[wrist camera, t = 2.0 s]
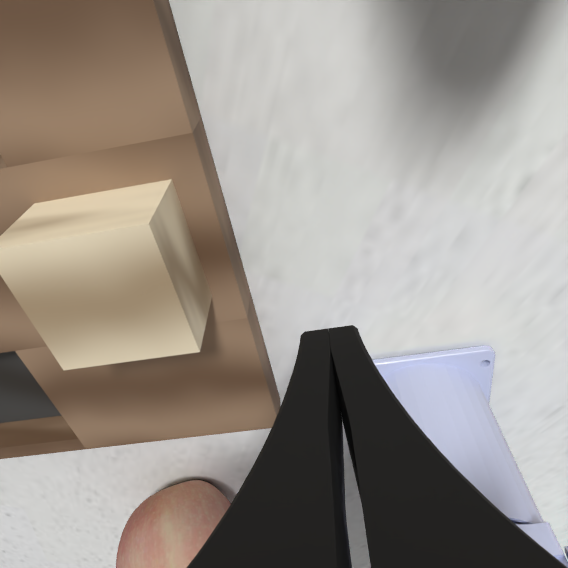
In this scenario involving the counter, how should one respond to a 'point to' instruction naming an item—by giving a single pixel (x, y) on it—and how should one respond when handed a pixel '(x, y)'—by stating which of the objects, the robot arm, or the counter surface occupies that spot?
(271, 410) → the board
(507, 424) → the counter surface
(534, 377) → the counter surface
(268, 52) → the counter surface
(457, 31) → the counter surface
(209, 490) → the apple
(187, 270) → the beech block
